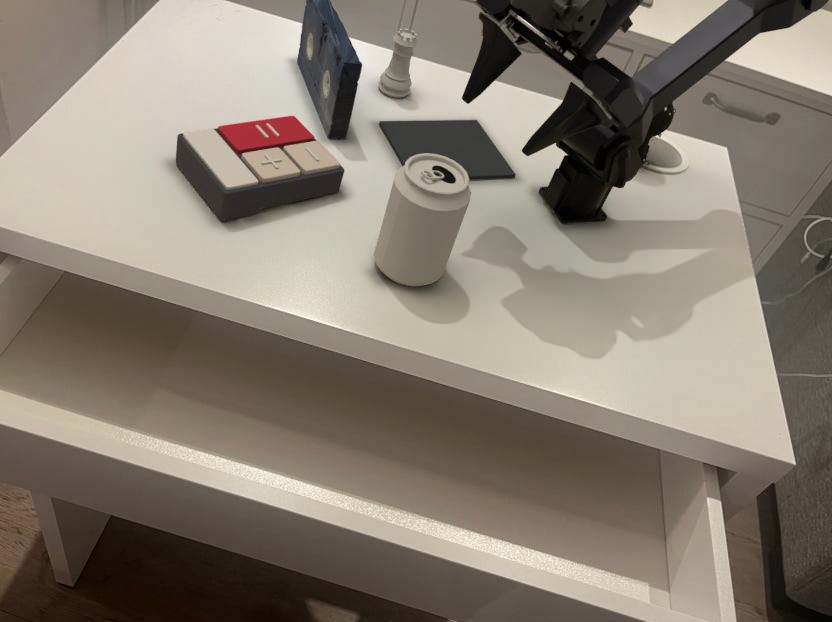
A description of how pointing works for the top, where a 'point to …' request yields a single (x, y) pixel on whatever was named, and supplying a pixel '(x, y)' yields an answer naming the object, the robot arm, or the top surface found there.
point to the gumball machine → (656, 129)
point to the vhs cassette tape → (328, 66)
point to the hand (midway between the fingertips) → (493, 126)
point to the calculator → (257, 165)
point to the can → (422, 219)
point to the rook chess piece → (399, 66)
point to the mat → (449, 145)
